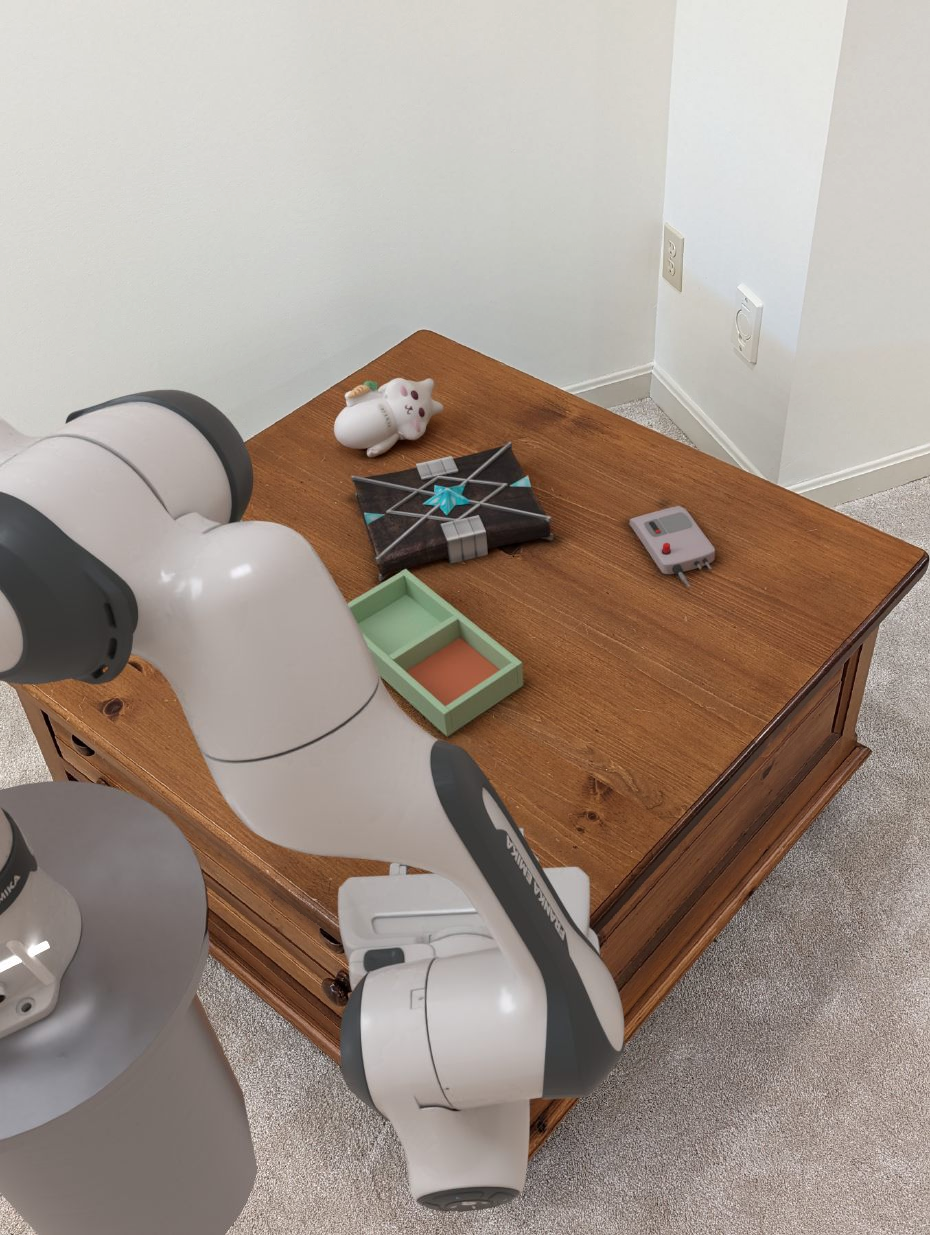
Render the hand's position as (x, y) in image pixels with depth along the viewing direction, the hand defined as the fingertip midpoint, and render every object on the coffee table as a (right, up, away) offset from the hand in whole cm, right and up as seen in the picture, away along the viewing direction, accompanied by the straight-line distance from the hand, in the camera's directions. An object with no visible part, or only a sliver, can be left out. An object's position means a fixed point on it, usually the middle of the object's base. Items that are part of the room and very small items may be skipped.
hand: (463, 834), depth 101 cm
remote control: (+25, +26, +42) cm, 56 cm away
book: (-2, +30, +49) cm, 58 cm away
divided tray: (-4, +14, +32) cm, 35 cm away
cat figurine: (-10, +42, +62) cm, 76 cm away
